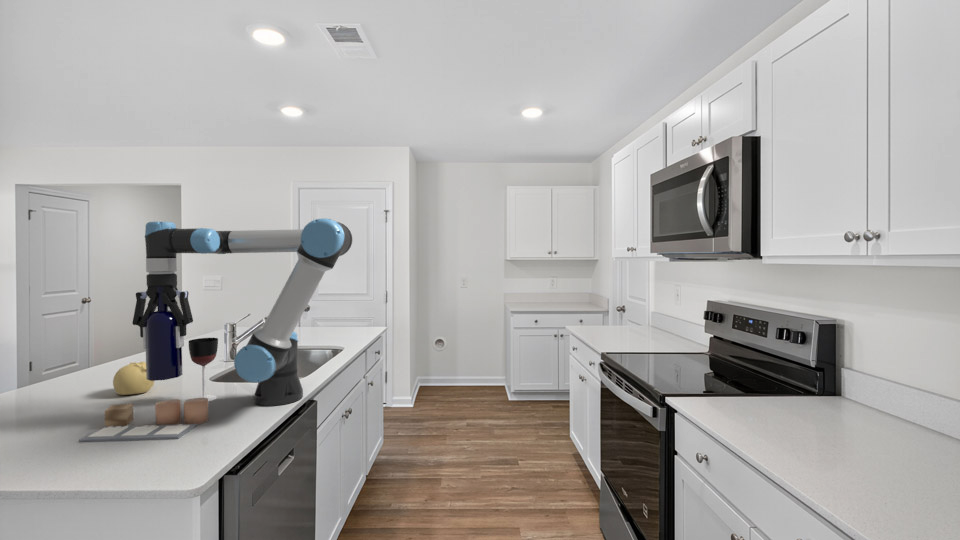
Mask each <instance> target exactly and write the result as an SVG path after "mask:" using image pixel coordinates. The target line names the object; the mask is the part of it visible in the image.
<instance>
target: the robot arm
mask: <svg viewBox="0 0 960 540" xmlns="http://www.w3.org/2000/svg"><path fill="white" fill-rule="evenodd" d="M144 232H145V233H144V238H145V239H144V240H145V255H146V257H145V271H146V272H147V273H148V274H147V275H146V286H147V288H146V289H147V290H146V291H138V292H136V293H135V298H136V303H135V307H134V313H133V316H132V317H133V318H132V325H133V326H138V327H139V333H140V337H141V338H142V339H143V341H142V345H143V346H142V347H143V350H146V341H145V319H146V318H147V317H148V316H149V315H150V313H153V312H156V309H157V308H158V306H157V304H158V290H156V287H163V286H164V289H163V293H161V296H162V298H163V304H167V306H168V309H169V311H171V312H172V314H173V315H174V317H175V318H176V321H177V323H178V325H177V326H176V348H180V347H185V337H186V336H187V326H188V324H192V323H194V318H193V313H192V310H191V306H190V302H189V293H190V292H189V291H187V290H185V291H181V290H179V289H178V274H177V273H175V272H177V271H178V270H177V268H178V267H177V266H178V265H177V264H178V263H177V254H203V255H204V254H217V255H227V254H252V253H253V254H256V253H258V254H259V253H264V254H265V253H296V255H297V257H298V260H297V262H296V263H295V265H294V267H293V269H292V271H291V272H290V275H289V277H288V278H287V279H286V280H287V281H286V282H285V284H284V285H283V288H282V290H281V292H280V293H279V295H278V296H277V299H276V300H275V302H274V305H273V307H272V308H271V310H270V312H269V313H268V316H267V318H266V319H265V322H264V323H263V324H262V327H260V328H256V329H255V330H254V331H253V333H252V335H251V336H250V338H249V339H248V342H247V343H246V345H245V346H243V347H241V348H240V349H239V350H238V351H237V352H236V354H235V357H234V361H233V363H234V365H233V366H234V368H235V371H236V373H237V375H238V376H239V377H240V378H241V379H243V380H245V381H246V382H249V383H256V384H257V385H256V389H255V391H254V394H253V403H254V404H257V405H260V406H266V407H267V406H269V407H270V406H271V407H272V406H273V407H274V406H282V405H287V404H292V403H295V402H298V401H299V400H301V399H303V397H304V390H303V386H302V384H301V380H300V377H299V375H298V374H299V373H298V360H299V359H298V354H299V353H298V349H299V348H298V344H299V343H298V342H299V340H298V334H297V332H296V331H294V330H296V327H297V325H298V324H299V321H300V320H301V318H302V316H303V314H304V312H305V310H306V308H307V307H308V305H309V303H310V300H311V299H312V297H313V295H314V293H315V292H316V289H317V287H318V286H319V284H320V282H321V280H322V278H323V277H324V274H325V272H327V271H330V270H333V269H334V266H335V265H336V264H337V261H338V260H339V258H340V257H341V256H343V255H345V254H346V253H348V252H349V251H350V249H351V247H352V244H353V235H352V232H351V230H350V229H349V228H348V227H347V225H345V224H344V223H341V222H340V221H335V220H333V219H331V218H326V217H325V218H324V217H323V218H316V219H313V220H311V221H309V222H308V223H307V224H305V226H304V227H303V229H302V228H301V229H300V228H299V229H260V230H257V229H255V230H254V229H253V230H249V229H248V230H216V229H213V228H203V227H199V228H198V227H197V228H177V226H176V223H174V222H172V221H148V222H146V223H145V231H144ZM176 297H177V298H178V299H179V304H180V307H179V305H178V301H177V300H176ZM147 298H149V300H148V302H147ZM146 303H147V307H146Z"/></svg>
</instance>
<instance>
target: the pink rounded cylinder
mask: <svg viewBox="0 0 960 540" xmlns="http://www.w3.org/2000/svg"><path fill="white" fill-rule="evenodd" d="M181 403H182V401H181V399H179V398H172V399H165V400H162V401H161V400H160V401H158V402H156V403H155V404H154V405H155V425H172V424H181V422H182V407H181V406H182V404H181Z"/></svg>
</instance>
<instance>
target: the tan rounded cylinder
mask: <svg viewBox="0 0 960 540" xmlns="http://www.w3.org/2000/svg"><path fill="white" fill-rule="evenodd" d="M207 421H209V401H208V398H196V397H193V398H190V399H187V400H185V401H184V402H183V424H196V425H200V424H204V423H206V422H207Z"/></svg>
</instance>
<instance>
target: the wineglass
mask: <svg viewBox="0 0 960 540" xmlns="http://www.w3.org/2000/svg"><path fill="white" fill-rule="evenodd" d="M218 346H219V338H218V337H202V338H201V337H199V338H194V339H190V340H188V352H189V357H190V359H191V362H193V363H194V364H196V365H199V366H200V367H201V366H202V368H201V369H202V396H201V395H200V396H196V397H195V398H208V402H211V401H214V400H216V399H217V398H218V397H217V396H216V395H208V394H207V395H206V366H207V365H209V364H210V363H212V362H213V361H214V360H215V359H216V357H217V354H218V353H217V352H218Z"/></svg>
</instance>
